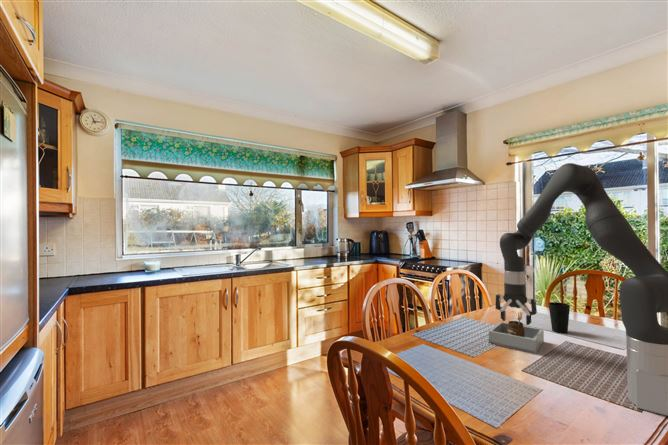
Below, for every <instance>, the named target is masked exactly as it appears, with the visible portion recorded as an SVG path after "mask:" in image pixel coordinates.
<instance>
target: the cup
mask: <svg viewBox="0 0 668 445" xmlns="http://www.w3.org/2000/svg"><path fill="white" fill-rule="evenodd" d="M570 307H571V305H570V304H568V303H564V302H557V301H556V302H555V301H554V302H553V301H551V302H548V308H549V316H550V317H549V318H550V323H551V324H550V325H551V331H552V332H554V333H557V334H561V335H562V334H563V335H564V334H568V332H569V322H570Z"/></svg>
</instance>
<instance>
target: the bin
mask: <svg viewBox="0 0 668 445" xmlns="http://www.w3.org/2000/svg"><path fill="white" fill-rule="evenodd" d="M508 323H509V322H505V321H499V322H497V323H496V324H495V325H494V326H493V327H492V328H491V329H489V330H488V344H489V343H491V344H490V345H493V344H495V345H494V346H499V347H502V348H508V349H511V350H514V351H515V350H516V351H520V352H525V353H530V354H534V355H536V354H537V353H538V351H539V350H540V348H541V347H542V345H543V344H544V341H545V338H544V329H542V328H538V327H532V326H528V325H523V328H524V331H525V337H520V336H515V335H510V334H508V326H509V324H508Z"/></svg>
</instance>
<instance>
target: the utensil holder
mask: <svg viewBox="0 0 668 445" xmlns="http://www.w3.org/2000/svg"><path fill="white" fill-rule="evenodd" d="M513 313H515V311H511V312H510V315H509V316H511V317H513V318H510V320H509V321H508V322H507V323H508V324H509V326H508V334H510V335H515V336H520V337H525V331H524V328H523V326H524V323H523V322H522V321H521V320H522V318H523V312H517V313H518V314H515V317H514V315H513ZM516 317H517V320H516Z"/></svg>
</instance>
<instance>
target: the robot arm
mask: <svg viewBox="0 0 668 445" xmlns="http://www.w3.org/2000/svg"><path fill="white" fill-rule="evenodd" d="M564 192H569V193H573V195H575V196H577V198H578V199H579V200H580V202H581V203H582V205H583V207H584V209H585V226H586V228H587V230H588V232H589V234H590V235H591V237H592V238H593V239H594V241H595V243H596V244H597V246H599V247H600V248H601V249H602V250H603V251H605V252H606V253H608V254H609V255H610V256H613V257H614V258H615V259H617V260H618V261H619V262H621V263H622V264H624V265H625V266H626V267H628V269H629V270H630V271H631V273H632V274H634V276H630V277H626V278H625V279H623V280H622V282H621V284H620V287H619V303H620V305H619V306H620V313H621V314H620V315H621V320H622V324H623V326H624V328H625V338H626V339H625V340H626V343H625V344H626V345H625V347H626V373H627V382H626V383H627V399H628V401H629V402H630V403H632V404H633V405H635V407H636V408H637V409H641V410H645V411H648V412H652V413H656V414H659V415H662V416H665V417H668V327H667V326H664V325H661V324H660V322H659V320H658V313H659V314H660V313H662V314H663V313H664V314H665V313H668V271H667V269H666V268H665V267H664V266H663V265H662V263H660V262H659V261H658V259H657V258H655V256H654V255H653V254H652V253H651V251H650V250H649V249H648V247H647V246H646V245H645V244H644V241H642V240H641V238H640V237H639V236H638V234H637V233H636V232H635V230H634V228H633V227H632V225H631V224H630V222H629V221H628V220H627V218H626V217H625V216H624V214H623V213H622V211H620V209H619V208H618V207H617V205H616V203H614V201H613V200H612V199H611V197H610V196H609V195H608V193H607V192H606V190H605V187H604V186H603V184H602V182H601V181H600V178H599V177H598V174H597V173H596V172H595V171H594V170H593V169H592V168H590V167H587V166H585V165H580V164H577V163H573V162H572V163H571V162H568V163H567V162H566V163H565V164H562V165H561V166H560V167H558V168H557V169H555V172H554V173H553V174H552V176H551V178H550V179H549V181H547V184H546V185H545V186H544V188H543V189H542V191H541V193H540V195H539V196H538V197H537V199H536V201H534V204H533V205H532V206H531V208H530V209H528V211H527V212H526V213H525V214H524V215H523V217H521V219H519V221H518V222H517V223H516V228H517V230H516V231H515V232H506V233H504V234H502V235H501V236H500V238H499V248H500V252H501V255H502V257H503V260H504V262H503V268H504V269H503V270H504V272H503V282H504V283H503V285H504V286H503V287H504V288H503V289H504V290H503V291H504V293H503V295H501V294H500V293H498V294H496V295H495V304H494V305H495V307H494V308H495V309H496V310H498V311H499V312H500V319H501V321H502V322H505V321H506V320H507V319H506V318H507V317H506V314H507V313H506V309H507V308H508V307H510V308H517V309H521V310H522V311H523V312H524V313H525V321H526V322H525V324H526V325H525V326H530V324H532V316H535V315H536V314H537V313H538V311H537V302H536V301H537V300H536V298H535V297H533V298H527V297H528V296H527V293H526V290H527V288H526V286H527V284H526V283H527V280H526V272H525V260H524V258H523V256H519V254H518V251H519V250H522V249H525V248H526V247H527V246H528V245H529V244H530V242H531V241H532V239H533V237H534V236H535V234H536V233H537V232H538V231H539V230H540V229H541V228H542V227H543V226H544V225H545V224H546V222H547V221H548V220H549V218H550V215H551V213H552V208H553V205H554V204H555V202H556V200H557V199H558V198H559V197H560V196H561V195H562V194H563V193H564ZM502 300H504V302H505V303H504V304H503V306H501V301H502ZM527 302H528V304H529V305H530V306H531V310H530V309H529V307H528V306H527V304H526V303H527Z"/></svg>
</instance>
